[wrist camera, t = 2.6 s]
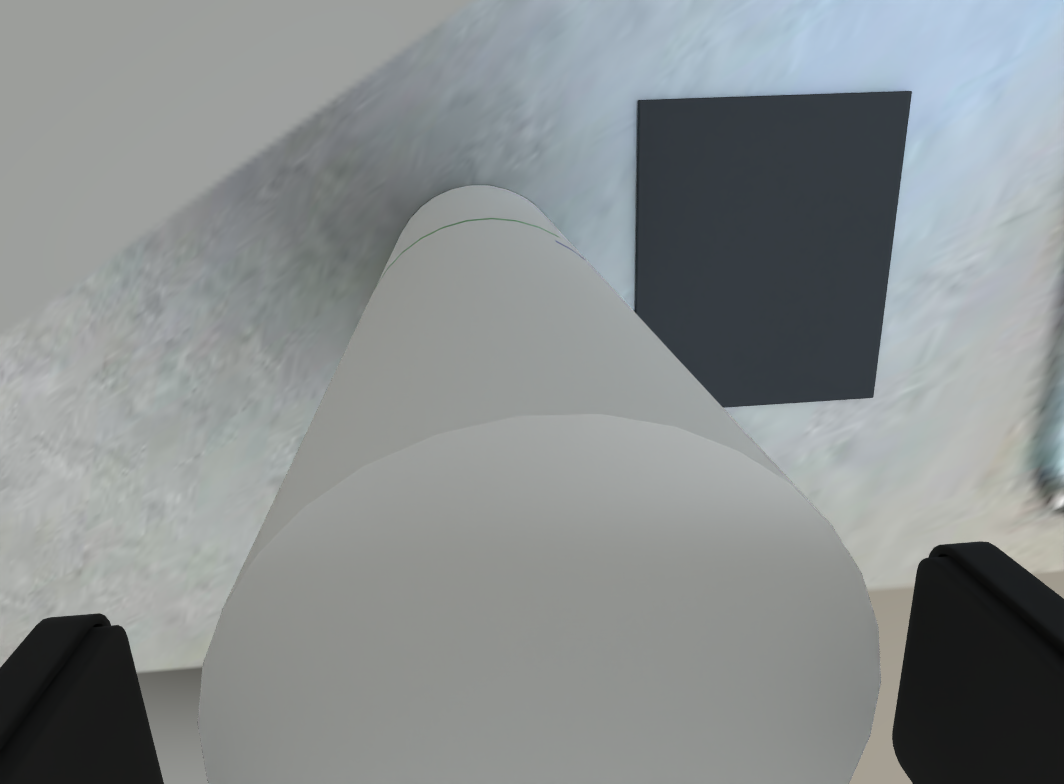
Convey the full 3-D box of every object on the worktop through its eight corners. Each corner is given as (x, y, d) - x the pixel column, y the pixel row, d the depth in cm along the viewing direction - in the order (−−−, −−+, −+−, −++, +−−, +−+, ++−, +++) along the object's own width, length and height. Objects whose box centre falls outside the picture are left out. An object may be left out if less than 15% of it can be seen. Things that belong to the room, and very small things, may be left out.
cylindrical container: (494, 389, 33) (586, 1039, 10) (357, 288, 31) (59, 802, 8) (601, 260, 32) (1011, 662, 8) (465, 146, 30) (501, 249, 6)
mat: (637, 100, 30) (639, 100, 29) (907, 91, 31) (912, 90, 30) (633, 411, 34) (635, 413, 34) (870, 395, 35) (873, 397, 35)
